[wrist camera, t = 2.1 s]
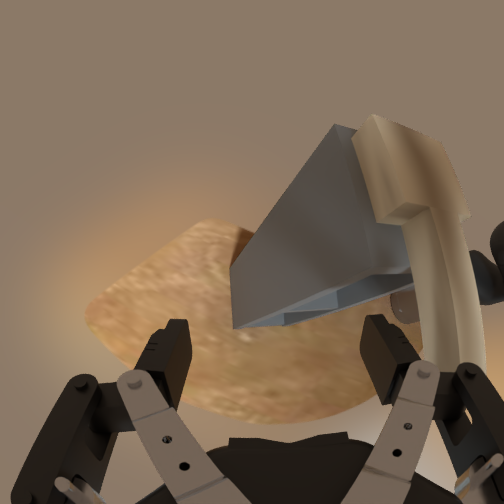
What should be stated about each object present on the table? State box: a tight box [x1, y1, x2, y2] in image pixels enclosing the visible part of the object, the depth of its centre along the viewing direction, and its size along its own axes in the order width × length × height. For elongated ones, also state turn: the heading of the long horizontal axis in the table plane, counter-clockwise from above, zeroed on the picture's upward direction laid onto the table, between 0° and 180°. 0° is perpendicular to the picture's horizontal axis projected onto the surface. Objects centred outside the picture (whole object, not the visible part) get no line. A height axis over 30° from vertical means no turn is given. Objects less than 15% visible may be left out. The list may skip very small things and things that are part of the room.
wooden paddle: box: [351, 114, 486, 375], centre depth 14 cm, size 7×16×2 cm, turn 4°
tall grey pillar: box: [230, 124, 414, 329], centre depth 31 cm, size 9×10×32 cm
